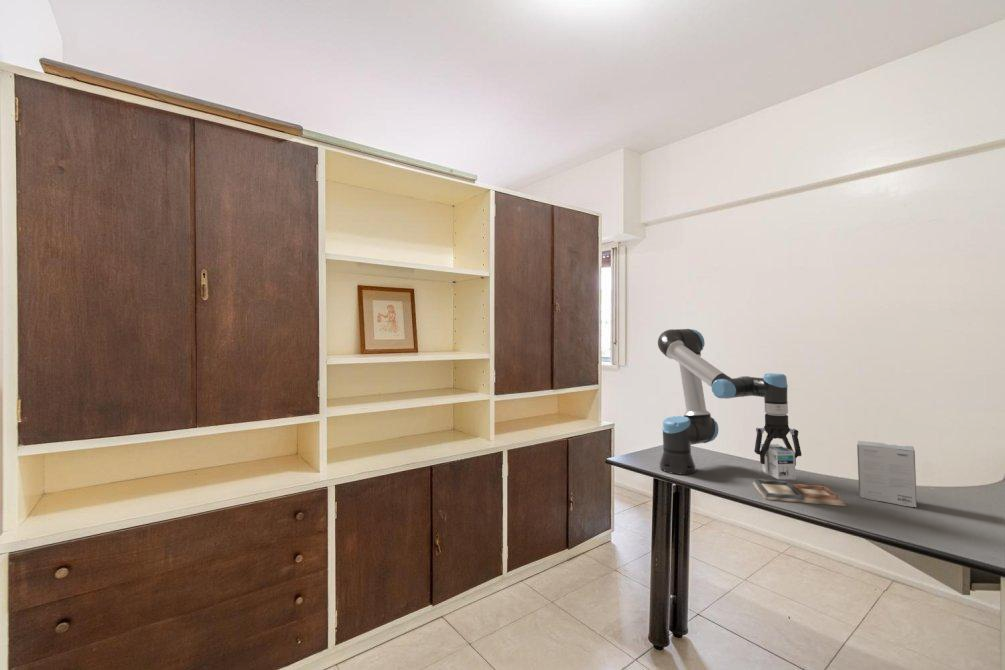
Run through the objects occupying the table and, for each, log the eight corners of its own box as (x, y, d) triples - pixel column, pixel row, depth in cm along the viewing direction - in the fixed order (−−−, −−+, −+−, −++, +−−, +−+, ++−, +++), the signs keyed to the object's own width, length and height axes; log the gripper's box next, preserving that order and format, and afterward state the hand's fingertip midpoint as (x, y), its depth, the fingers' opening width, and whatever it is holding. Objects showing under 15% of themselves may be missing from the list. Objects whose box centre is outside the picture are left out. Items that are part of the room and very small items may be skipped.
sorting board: (765, 499, 155) (765, 493, 155) (753, 484, 170) (753, 478, 170) (845, 506, 148) (845, 499, 148) (825, 489, 163) (825, 484, 163)
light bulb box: (796, 479, 155) (795, 450, 155) (778, 480, 155) (777, 451, 155) (778, 470, 166) (777, 443, 166) (761, 470, 166) (760, 443, 166)
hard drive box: (916, 502, 150) (914, 446, 150) (917, 508, 144) (915, 451, 144) (859, 491, 160) (858, 439, 160) (858, 497, 155) (856, 443, 155)
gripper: (748, 414, 160) (750, 474, 160) (811, 416, 154) (813, 478, 154) (743, 411, 167) (745, 468, 167) (803, 413, 161) (805, 472, 161)
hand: (778, 473), depth 161 cm, fingers closed on light bulb box, 8 cm apart
